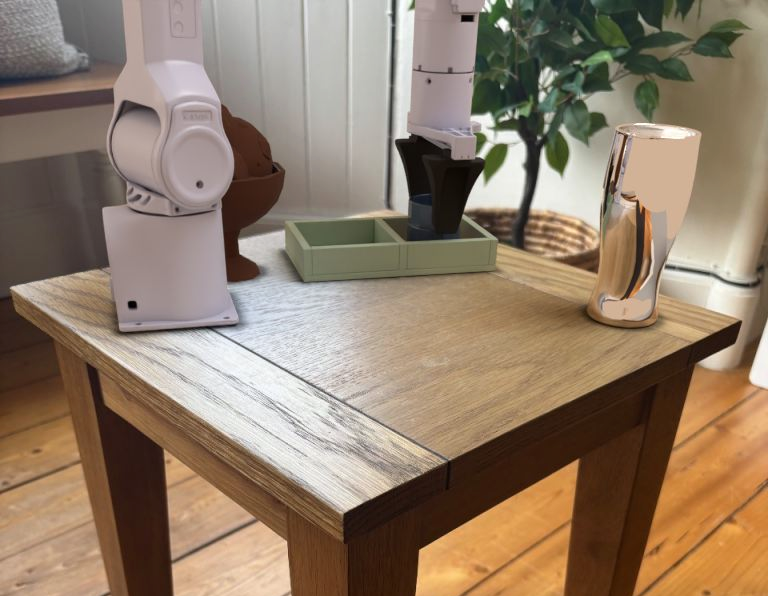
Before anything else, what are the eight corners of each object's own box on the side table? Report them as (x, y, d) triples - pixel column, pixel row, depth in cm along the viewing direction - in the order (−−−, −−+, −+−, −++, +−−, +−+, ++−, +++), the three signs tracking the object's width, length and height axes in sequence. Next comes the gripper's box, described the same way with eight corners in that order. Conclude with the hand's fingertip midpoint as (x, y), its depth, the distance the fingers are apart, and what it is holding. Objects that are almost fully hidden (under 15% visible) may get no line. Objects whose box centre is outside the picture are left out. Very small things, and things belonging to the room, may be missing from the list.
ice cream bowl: (232, 299, 72) (217, 113, 64) (149, 273, 78) (126, 98, 69) (311, 272, 79) (307, 101, 71) (231, 249, 85) (218, 88, 76)
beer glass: (666, 333, 68) (711, 140, 60) (582, 325, 69) (615, 134, 61) (657, 305, 74) (697, 125, 66) (580, 298, 75) (610, 120, 67)
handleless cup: (416, 259, 81) (418, 207, 78) (400, 244, 85) (402, 194, 82) (465, 256, 82) (470, 205, 79) (448, 241, 86) (451, 192, 84)
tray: (304, 282, 77) (303, 249, 75) (285, 251, 85) (284, 220, 83) (495, 270, 81) (498, 239, 80) (460, 242, 89) (462, 213, 88)
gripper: (514, 80, 70) (497, 240, 77) (457, 62, 81) (447, 203, 89) (436, 79, 68) (427, 244, 76) (389, 61, 80) (385, 206, 87)
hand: (433, 222), depth 82 cm, fingers open, 7 cm apart
